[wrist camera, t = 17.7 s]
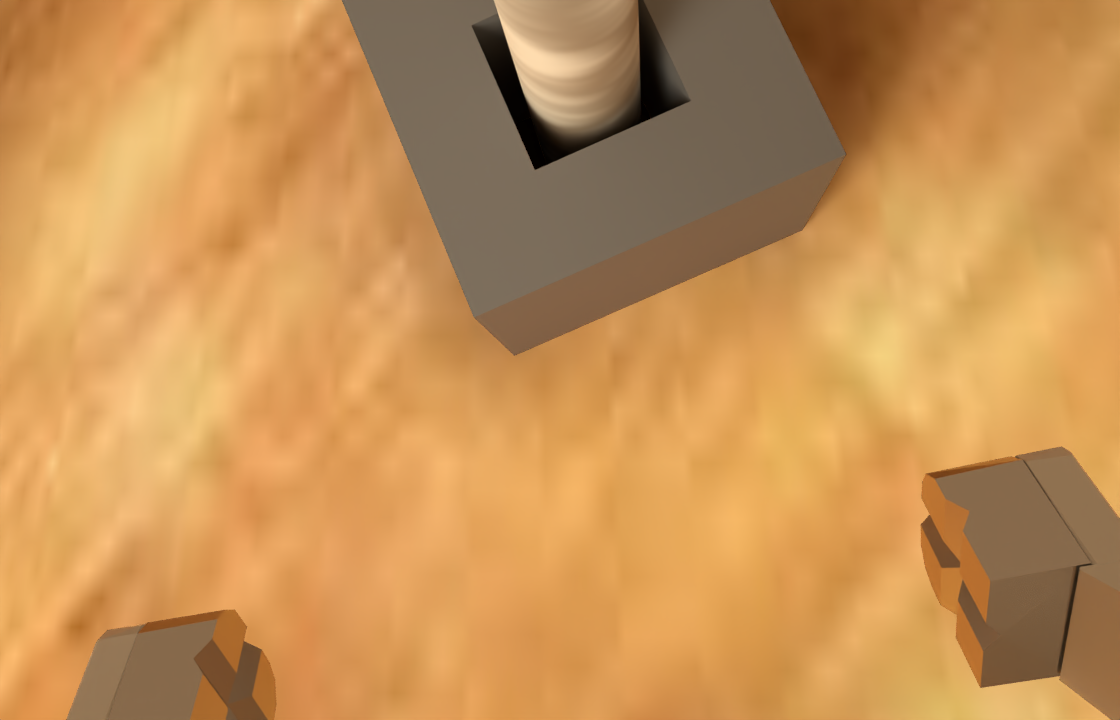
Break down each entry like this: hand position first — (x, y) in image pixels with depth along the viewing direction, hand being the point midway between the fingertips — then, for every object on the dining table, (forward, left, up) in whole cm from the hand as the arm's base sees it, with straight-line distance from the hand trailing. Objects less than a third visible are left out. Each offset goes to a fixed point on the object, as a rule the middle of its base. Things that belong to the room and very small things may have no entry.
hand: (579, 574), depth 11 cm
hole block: (+5, +15, -31) cm, 35 cm away
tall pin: (+5, +15, -31) cm, 35 cm away
